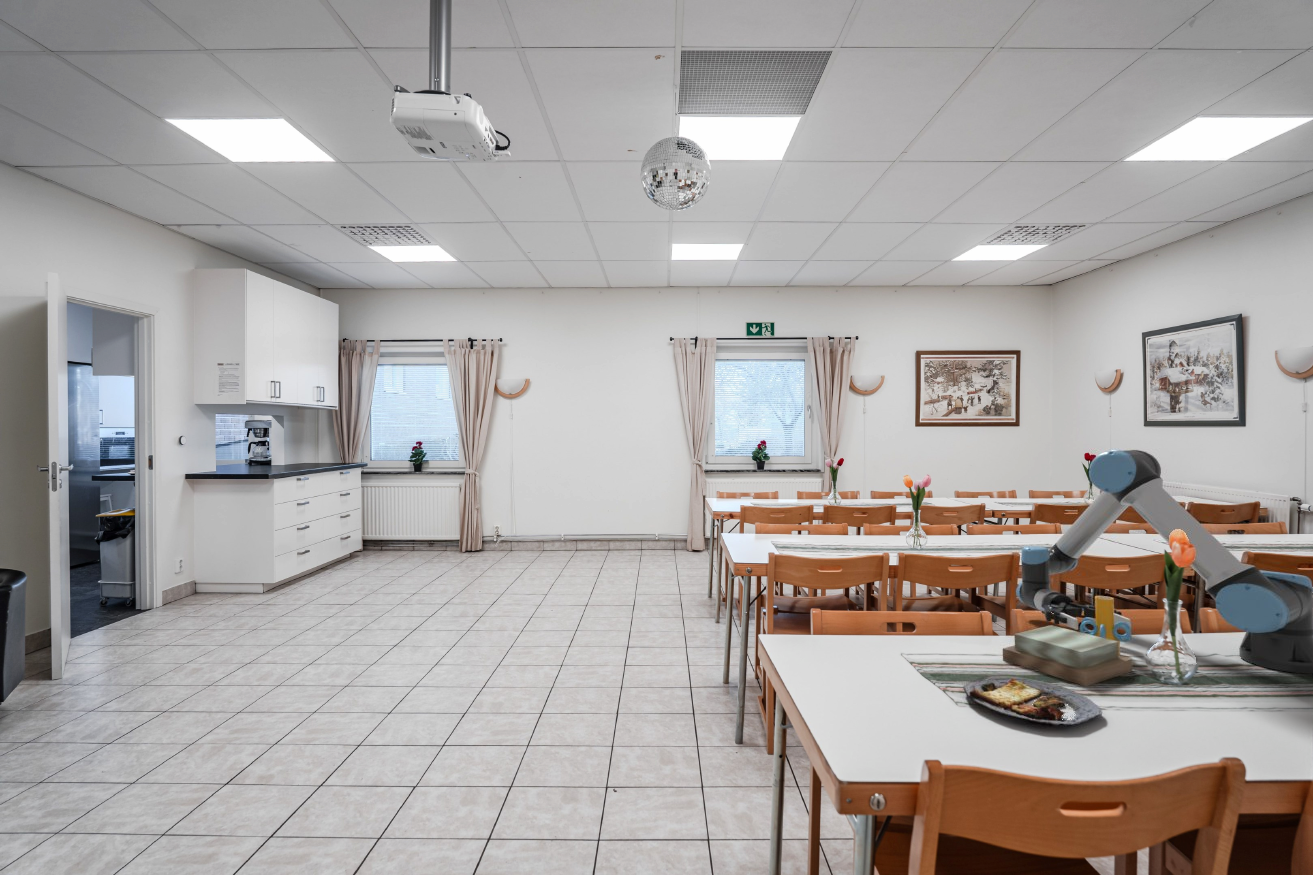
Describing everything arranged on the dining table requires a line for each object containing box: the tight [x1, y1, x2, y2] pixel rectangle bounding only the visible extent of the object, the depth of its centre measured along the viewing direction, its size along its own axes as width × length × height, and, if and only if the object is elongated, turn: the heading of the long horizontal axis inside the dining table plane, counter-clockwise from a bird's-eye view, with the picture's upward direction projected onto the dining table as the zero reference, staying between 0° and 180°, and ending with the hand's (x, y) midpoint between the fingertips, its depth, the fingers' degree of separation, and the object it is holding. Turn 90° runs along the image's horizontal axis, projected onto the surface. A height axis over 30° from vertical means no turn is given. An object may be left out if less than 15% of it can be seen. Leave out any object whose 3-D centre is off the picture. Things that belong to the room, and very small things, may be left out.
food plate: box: [963, 675, 1103, 727], centre depth 128 cm, size 25×23×4 cm
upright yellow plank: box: [1079, 595, 1132, 656], centre depth 160 cm, size 12×10×15 cm
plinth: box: [1002, 624, 1133, 687], centre depth 152 cm, size 20×20×7 cm
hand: (1103, 624), depth 160 cm, fingers open, 13 cm apart
